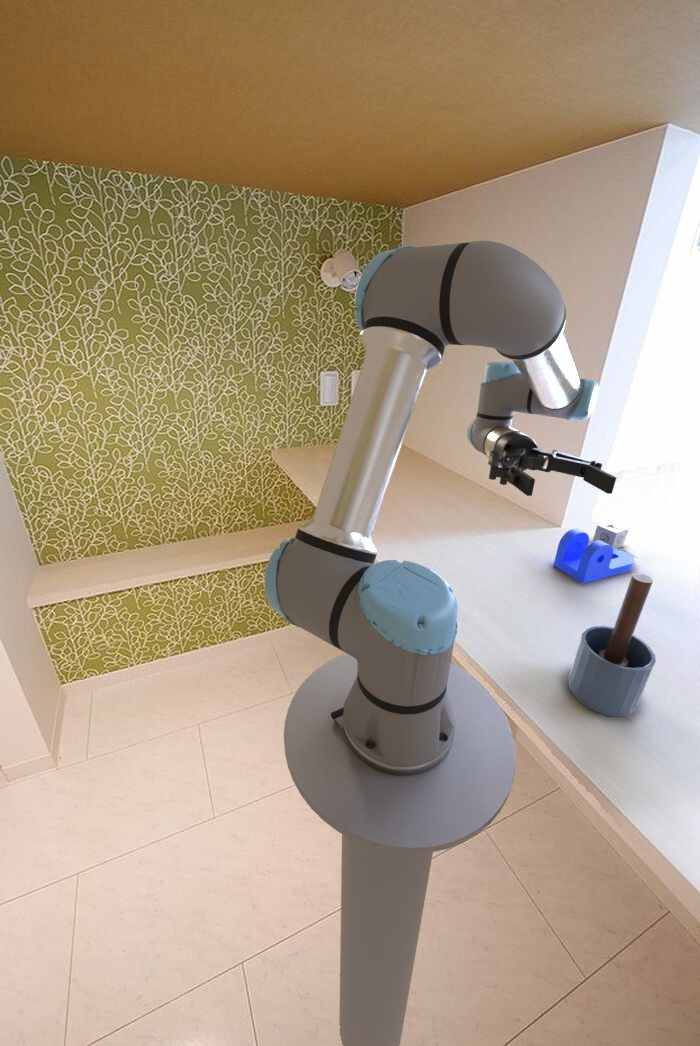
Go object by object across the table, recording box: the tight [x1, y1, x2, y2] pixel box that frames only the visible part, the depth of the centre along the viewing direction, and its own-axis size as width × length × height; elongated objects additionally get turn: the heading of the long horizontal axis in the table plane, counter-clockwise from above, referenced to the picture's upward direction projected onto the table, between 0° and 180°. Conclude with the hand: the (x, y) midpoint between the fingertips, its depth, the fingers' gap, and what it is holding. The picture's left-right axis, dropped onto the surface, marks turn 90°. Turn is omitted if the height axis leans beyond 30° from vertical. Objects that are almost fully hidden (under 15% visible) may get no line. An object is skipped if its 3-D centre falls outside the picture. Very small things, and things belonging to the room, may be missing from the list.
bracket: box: [553, 528, 635, 585], centre depth 99 cm, size 18×8×9 cm, turn 112°
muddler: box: [598, 572, 654, 667], centre depth 63 cm, size 4×4×20 cm
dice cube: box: [591, 520, 629, 549], centre depth 110 cm, size 5×5×5 cm
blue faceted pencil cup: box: [567, 625, 657, 718], centre depth 65 cm, size 9×9×9 cm
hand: (572, 486), depth 68 cm, fingers open, 13 cm apart
